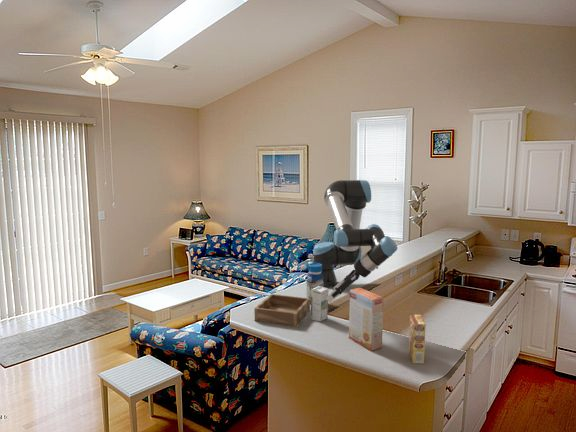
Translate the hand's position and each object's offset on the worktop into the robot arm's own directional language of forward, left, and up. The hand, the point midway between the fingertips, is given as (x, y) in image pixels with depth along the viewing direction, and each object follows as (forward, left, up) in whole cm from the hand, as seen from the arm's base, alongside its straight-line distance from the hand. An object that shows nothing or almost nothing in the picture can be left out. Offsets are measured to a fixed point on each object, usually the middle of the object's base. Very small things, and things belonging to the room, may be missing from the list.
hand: (331, 295), depth 189 cm
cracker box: (+16, +18, -13) cm, 27 cm away
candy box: (+22, +38, -13) cm, 46 cm away
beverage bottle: (-19, -14, -12) cm, 27 cm away
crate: (+1, -23, -12) cm, 26 cm away
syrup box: (-1, -6, -13) cm, 14 cm away
